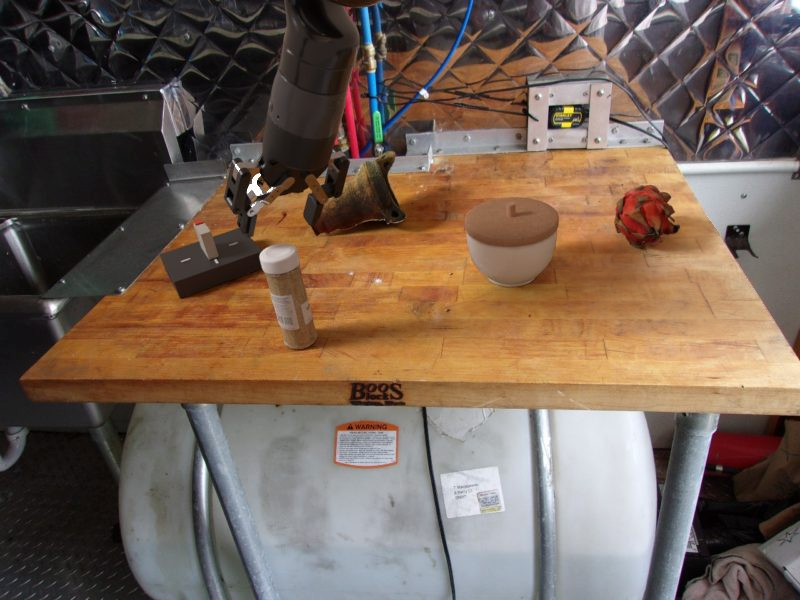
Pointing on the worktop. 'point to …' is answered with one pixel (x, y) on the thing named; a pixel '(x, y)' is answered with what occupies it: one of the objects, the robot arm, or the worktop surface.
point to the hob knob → (205, 239)
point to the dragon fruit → (644, 216)
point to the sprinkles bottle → (289, 294)
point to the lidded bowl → (511, 239)
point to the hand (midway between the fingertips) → (278, 226)
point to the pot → (363, 199)
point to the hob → (211, 263)
